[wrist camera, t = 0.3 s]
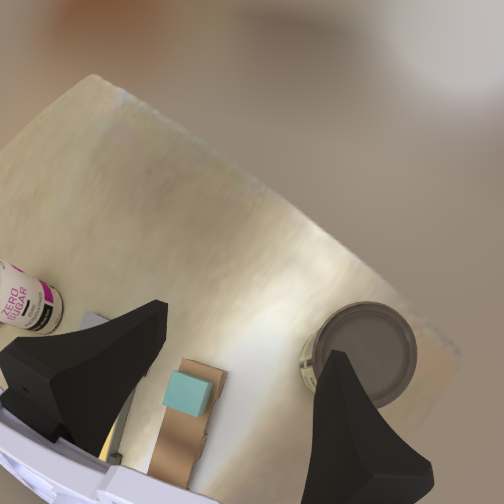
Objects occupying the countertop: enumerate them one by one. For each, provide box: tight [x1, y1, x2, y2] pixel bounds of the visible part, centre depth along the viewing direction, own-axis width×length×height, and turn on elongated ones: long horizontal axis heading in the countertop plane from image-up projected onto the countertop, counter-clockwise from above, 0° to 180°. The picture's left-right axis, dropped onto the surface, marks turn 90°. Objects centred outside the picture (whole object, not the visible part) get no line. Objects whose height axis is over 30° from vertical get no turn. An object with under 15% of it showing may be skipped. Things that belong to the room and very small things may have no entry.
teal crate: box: [163, 371, 214, 417], centre depth 32 cm, size 4×4×4 cm
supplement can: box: [0, 259, 62, 334], centre depth 37 cm, size 8×8×15 cm
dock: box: [79, 311, 147, 465], centre depth 37 cm, size 24×11×3 cm, turn 163°
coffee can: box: [299, 301, 417, 409], centre depth 33 cm, size 10×10×14 cm
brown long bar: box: [147, 358, 228, 490], centre depth 34 cm, size 22×5×5 cm, turn 163°
